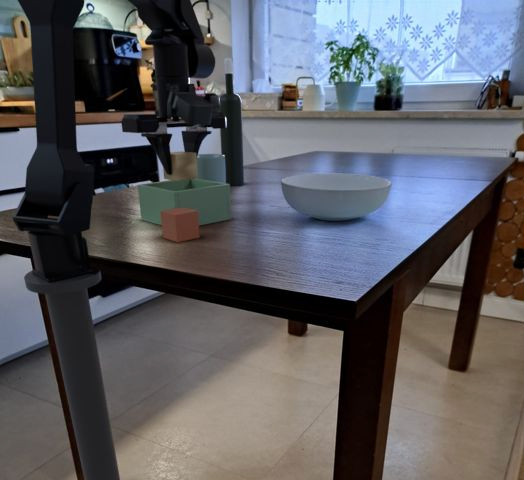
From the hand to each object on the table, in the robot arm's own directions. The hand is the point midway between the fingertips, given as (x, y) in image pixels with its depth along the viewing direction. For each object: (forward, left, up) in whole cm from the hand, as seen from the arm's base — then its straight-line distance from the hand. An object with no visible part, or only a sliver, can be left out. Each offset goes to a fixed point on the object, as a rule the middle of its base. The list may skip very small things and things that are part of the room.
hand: (180, 173), depth 95 cm
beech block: (0, 0, -1) cm, 1 cm away
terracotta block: (-7, -10, -9) cm, 15 cm away
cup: (+16, +13, -9) cm, 22 cm away
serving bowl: (+24, -17, -9) cm, 31 cm away
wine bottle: (+37, +30, -9) cm, 48 cm away
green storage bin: (+2, +2, -9) cm, 9 cm away
